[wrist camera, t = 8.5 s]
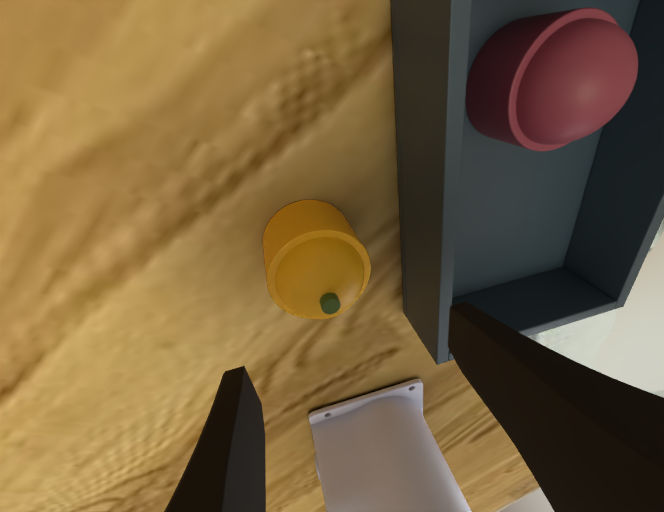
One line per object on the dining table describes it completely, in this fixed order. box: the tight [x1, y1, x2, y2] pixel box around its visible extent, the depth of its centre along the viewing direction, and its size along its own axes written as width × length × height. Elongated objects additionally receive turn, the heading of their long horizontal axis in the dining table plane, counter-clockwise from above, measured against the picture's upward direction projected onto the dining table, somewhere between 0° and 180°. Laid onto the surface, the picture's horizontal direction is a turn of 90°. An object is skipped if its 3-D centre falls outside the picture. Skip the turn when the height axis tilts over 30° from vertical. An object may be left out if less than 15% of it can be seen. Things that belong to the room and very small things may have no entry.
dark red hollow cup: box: [465, 7, 638, 151], centre depth 13 cm, size 5×5×5 cm
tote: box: [391, 0, 664, 365], centre depth 16 cm, size 12×17×5 cm
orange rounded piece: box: [263, 200, 371, 319], centre depth 15 cm, size 5×5×6 cm
